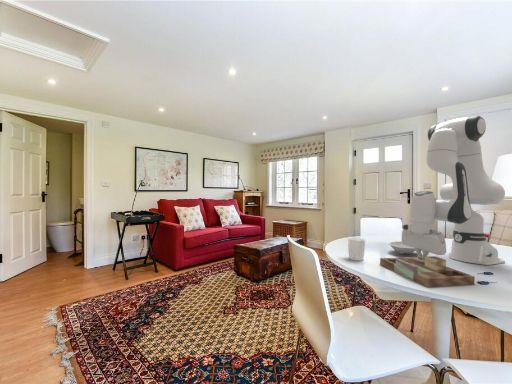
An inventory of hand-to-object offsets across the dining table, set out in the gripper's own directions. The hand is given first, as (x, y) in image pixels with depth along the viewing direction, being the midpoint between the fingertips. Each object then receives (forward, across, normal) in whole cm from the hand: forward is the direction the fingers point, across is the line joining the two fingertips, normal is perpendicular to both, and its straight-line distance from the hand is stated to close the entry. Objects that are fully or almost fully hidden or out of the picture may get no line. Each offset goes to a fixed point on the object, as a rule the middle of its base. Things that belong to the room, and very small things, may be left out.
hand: (421, 259), depth 108 cm
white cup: (+4, +18, +20) cm, 28 cm away
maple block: (+1, -7, 0) cm, 7 cm away
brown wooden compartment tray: (+4, -5, +4) cm, 8 cm away
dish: (+5, +24, -12) cm, 27 cm away
